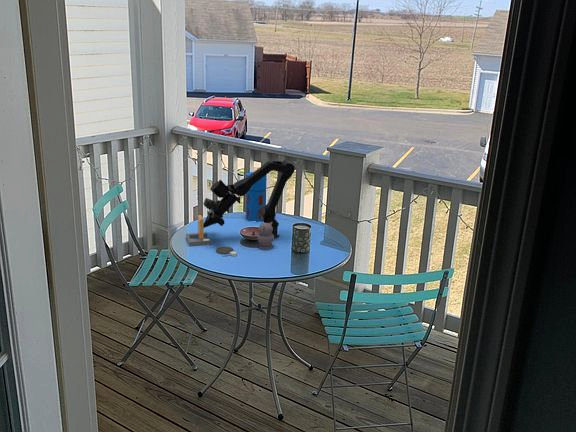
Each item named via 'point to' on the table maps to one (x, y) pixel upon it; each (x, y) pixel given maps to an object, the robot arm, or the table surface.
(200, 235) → the block
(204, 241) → the breaker housing
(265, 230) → the cat figurine
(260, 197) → the thermos
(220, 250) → the ping pong paddle
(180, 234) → the table surface
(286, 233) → the table surface
